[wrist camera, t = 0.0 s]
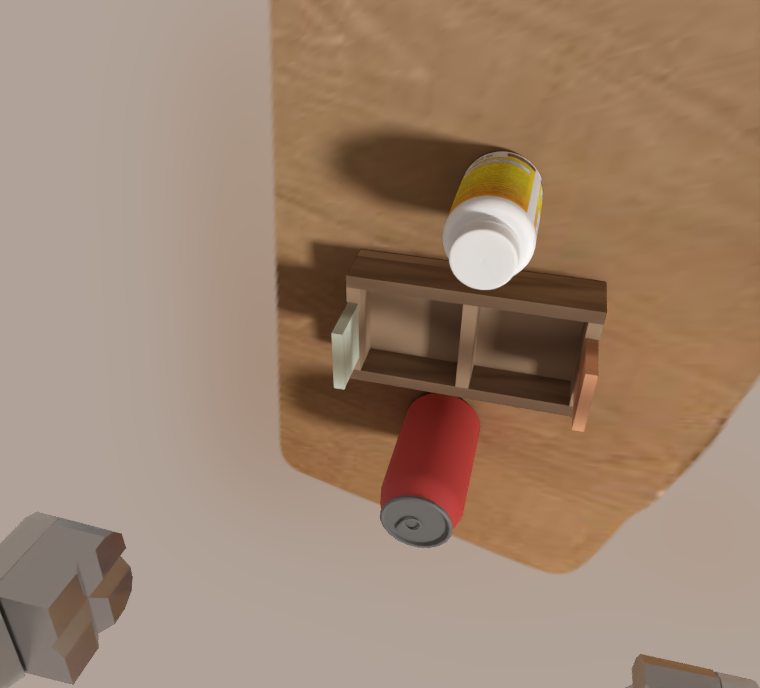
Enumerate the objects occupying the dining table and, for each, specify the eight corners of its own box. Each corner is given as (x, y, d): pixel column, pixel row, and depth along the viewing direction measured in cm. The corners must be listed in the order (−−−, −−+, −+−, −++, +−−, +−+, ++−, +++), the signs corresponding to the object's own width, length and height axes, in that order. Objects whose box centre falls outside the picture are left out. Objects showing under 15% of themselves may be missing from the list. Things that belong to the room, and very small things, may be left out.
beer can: (392, 407, 61) (355, 510, 52) (449, 377, 58) (420, 482, 48) (438, 454, 63) (411, 561, 54) (496, 428, 60) (477, 539, 50)
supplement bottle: (448, 166, 47) (418, 235, 39) (526, 135, 44) (510, 201, 36) (481, 235, 49) (458, 313, 41) (556, 209, 47) (547, 286, 39)
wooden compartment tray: (360, 249, 53) (328, 305, 46) (606, 282, 49) (607, 347, 43) (361, 348, 58) (333, 410, 52) (581, 384, 55) (579, 455, 49)
